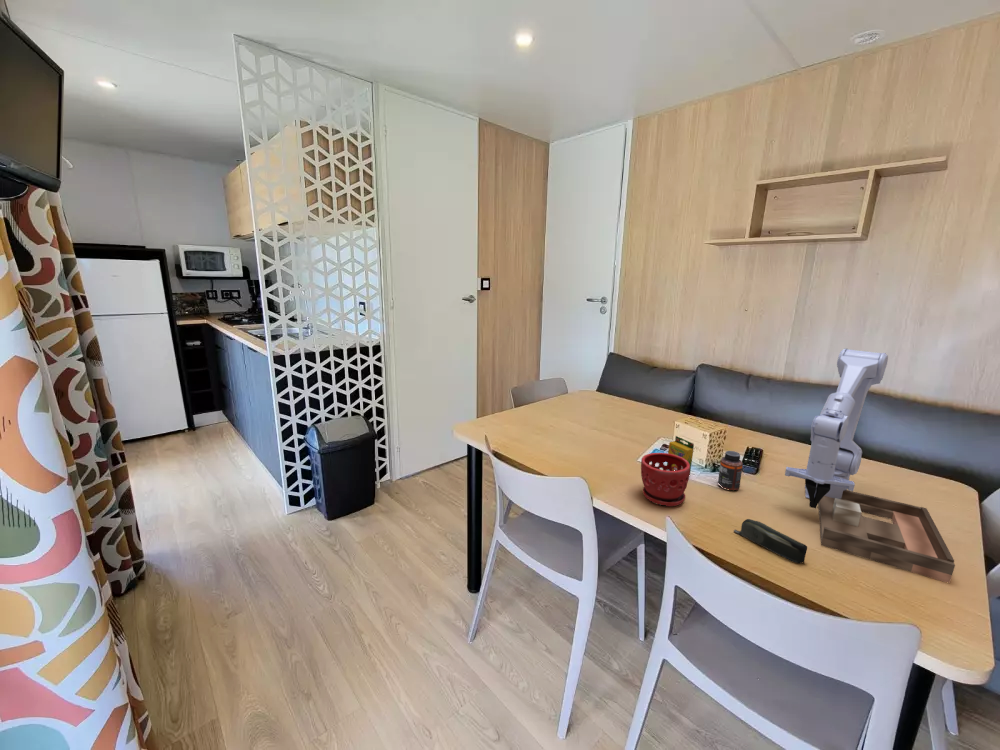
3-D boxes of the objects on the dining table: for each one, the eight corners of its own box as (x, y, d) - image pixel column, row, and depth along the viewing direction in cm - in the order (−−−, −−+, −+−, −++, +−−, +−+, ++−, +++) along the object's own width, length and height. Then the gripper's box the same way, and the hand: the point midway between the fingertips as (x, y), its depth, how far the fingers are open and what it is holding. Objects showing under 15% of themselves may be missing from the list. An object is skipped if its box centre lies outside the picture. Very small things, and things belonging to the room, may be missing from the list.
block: (833, 520, 108) (836, 506, 107) (831, 511, 112) (834, 498, 111) (857, 526, 105) (861, 512, 104) (855, 517, 109) (859, 503, 108)
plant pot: (663, 484, 130) (667, 448, 127) (696, 505, 118) (701, 466, 115) (629, 491, 125) (632, 455, 122) (659, 514, 113) (664, 474, 110)
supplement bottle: (739, 485, 129) (744, 451, 126) (738, 493, 124) (744, 459, 121) (718, 480, 132) (722, 447, 129) (716, 488, 127) (721, 454, 124)
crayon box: (665, 468, 140) (669, 436, 137) (671, 467, 141) (675, 435, 138) (684, 478, 134) (688, 444, 131) (690, 476, 135) (694, 443, 132)
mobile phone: (809, 543, 94) (741, 512, 106) (804, 548, 92) (735, 516, 104) (804, 562, 95) (737, 529, 107) (799, 567, 94) (732, 533, 105)
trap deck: (821, 544, 101) (824, 526, 100) (817, 497, 122) (820, 482, 121) (949, 583, 88) (955, 563, 87) (920, 523, 110) (925, 506, 109)
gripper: (788, 458, 109) (779, 504, 113) (859, 473, 101) (848, 522, 105) (789, 449, 115) (781, 493, 118) (856, 463, 107) (846, 509, 110)
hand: (812, 506), depth 112 cm, fingers closed
